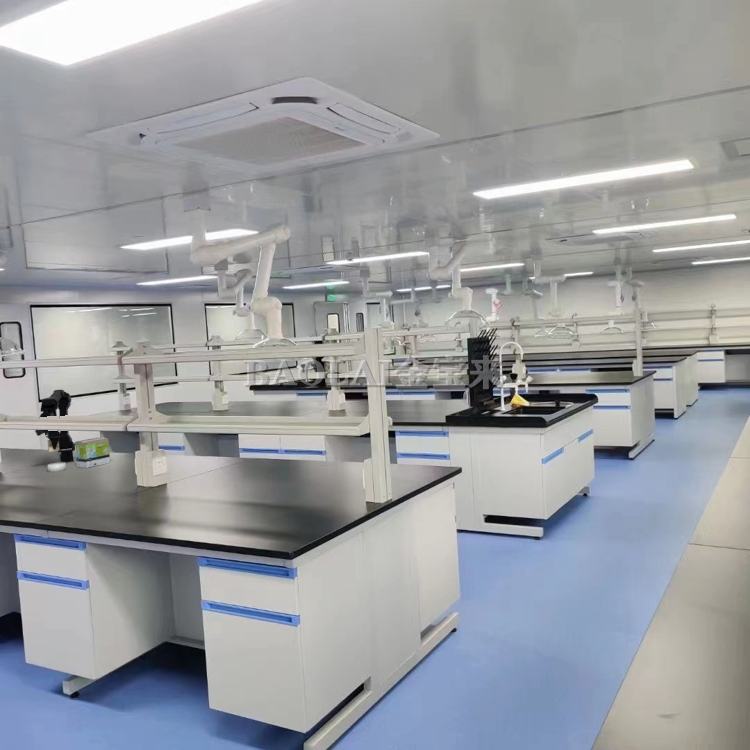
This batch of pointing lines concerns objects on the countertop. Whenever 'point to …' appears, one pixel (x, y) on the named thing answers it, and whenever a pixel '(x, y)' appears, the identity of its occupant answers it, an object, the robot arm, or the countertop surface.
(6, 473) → the countertop surface
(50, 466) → the ceramic puck
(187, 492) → the countertop surface
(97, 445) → the tea box
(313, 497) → the countertop surface
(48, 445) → the birch block
